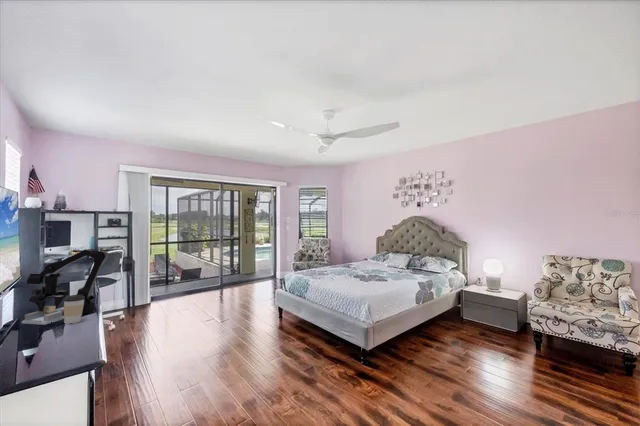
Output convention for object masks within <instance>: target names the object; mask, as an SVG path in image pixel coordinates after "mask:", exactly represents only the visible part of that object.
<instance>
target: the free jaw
mask: <svg viewBox="0 0 640 426" xmlns="http://www.w3.org/2000/svg"><path fill="white" fill-rule="evenodd" d="M44 312H45V311H39V310H37V311H33V312H29V313H27V314H26V313H25V314H23V318H24V320H32V319H35V318H39V317H42V316H44Z"/></svg>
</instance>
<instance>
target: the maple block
mask: <svg viewBox="0 0 640 426" xmlns="http://www.w3.org/2000/svg"><path fill="white" fill-rule="evenodd" d="M55 308H56V306H54V305H46V306H44V309H43V311H45V312H44V315H47V314H51V313H54V312H56V309H57V308H56V309H55Z"/></svg>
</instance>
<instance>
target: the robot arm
mask: <svg viewBox="0 0 640 426" xmlns="http://www.w3.org/2000/svg"><path fill="white" fill-rule="evenodd" d="M85 257H88V258H92V259H93V265H92V268H91V270H90V272H89V274H88V277H87V279H86V281H85V283H84V285H83V286H82V287H80V288H78V290H77V293H76V294H75V295H83V296H84V297H85V299H84V306H83V311H82V315H89V314H93V313H95V312H96V310H94V308H95V302H96V301H95V300H96V299H97V298H96V297H95V295H93V288H94V285H95V282H96V279H97V277H98V276H99V273H100V271H101V269H102V267H103V265H104V264H105V263H106V261H107V260H108V258H109V257H110V254H109V251H106V250H101V251H99V250H93V249H89V248H87V249H83V250H82V251H79V252H77V253H75V254H73V255H71V256H69V257H66V258H64V259H62V260H59V261H56V262H52V263H48V264H46V265H45V266H44V269H43V270H42V271H41V272H40V273H39V272H38V273H37V272H32V273H30V274H29V276H28V278H27V279H26V284H27V285H28V286H32V285H37V286H38V285H39V286H40V285H43V284H44V285H43V286H42V287H41V289H38V288H35V289H32V290H31V295H32V296H30V297H29V298H28V302H31V303H34V304H35V305H36V306H37V308H38V311H43V309H44V306H45V305H46V303H47V300H46V299H49V298H53V299H54V304H53V306H56V308H55V310H56V309H58V307H59V305H60V304H61V303H62V302H63V301H64V299H65V298H67V296H70V295H69V294H70V292H69V291H68V290H62V289H61V290H58V288H59V287H60V284H59V278H61V277H64V274H62V273H61V272H60V271H61V270H63V269H64V268H65V267H67V266H68V265H70V264H72V263H75V262H77V261H79V260H81V259H83V258H85Z"/></svg>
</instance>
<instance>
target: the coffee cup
mask: <svg viewBox="0 0 640 426" xmlns="http://www.w3.org/2000/svg"><path fill="white" fill-rule="evenodd" d="M84 299H85V297H84V296H83V295H76V294H72V295H67V296H66V297H65V298H64V299H63V303H64V304H63V316H64V319H63V322H64V323H65V324H64V325H70V324H69V323H73V324H77V322H78V323H80V322H81V320H82V315H83V314H82V311H83V306H84Z"/></svg>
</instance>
